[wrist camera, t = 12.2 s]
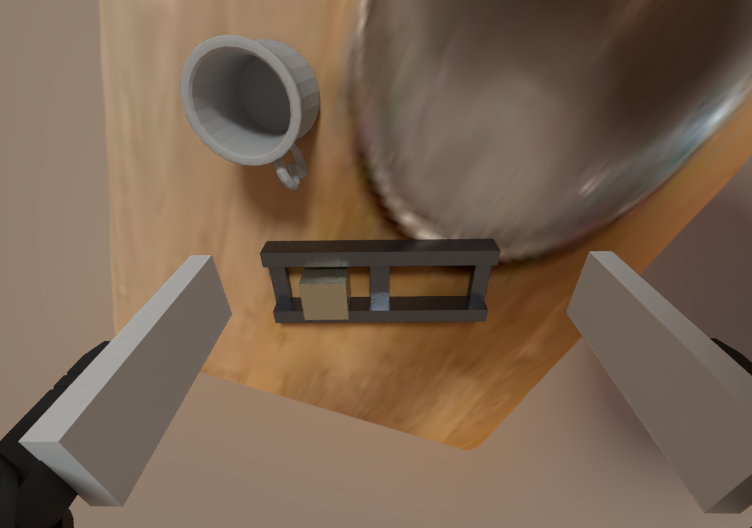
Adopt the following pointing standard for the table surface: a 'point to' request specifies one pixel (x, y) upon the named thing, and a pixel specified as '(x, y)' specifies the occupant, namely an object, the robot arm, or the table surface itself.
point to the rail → (385, 277)
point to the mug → (251, 101)
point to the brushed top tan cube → (325, 293)
